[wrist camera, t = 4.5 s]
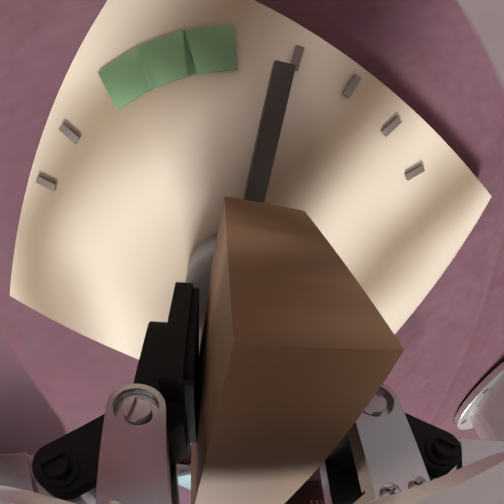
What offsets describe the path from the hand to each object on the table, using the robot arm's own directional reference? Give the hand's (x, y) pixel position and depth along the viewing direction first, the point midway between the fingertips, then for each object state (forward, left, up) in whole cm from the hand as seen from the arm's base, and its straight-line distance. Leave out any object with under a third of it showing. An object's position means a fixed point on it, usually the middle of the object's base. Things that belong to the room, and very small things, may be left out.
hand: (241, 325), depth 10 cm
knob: (+1, -2, -3) cm, 4 cm away
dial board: (0, -1, -5) cm, 5 cm away
